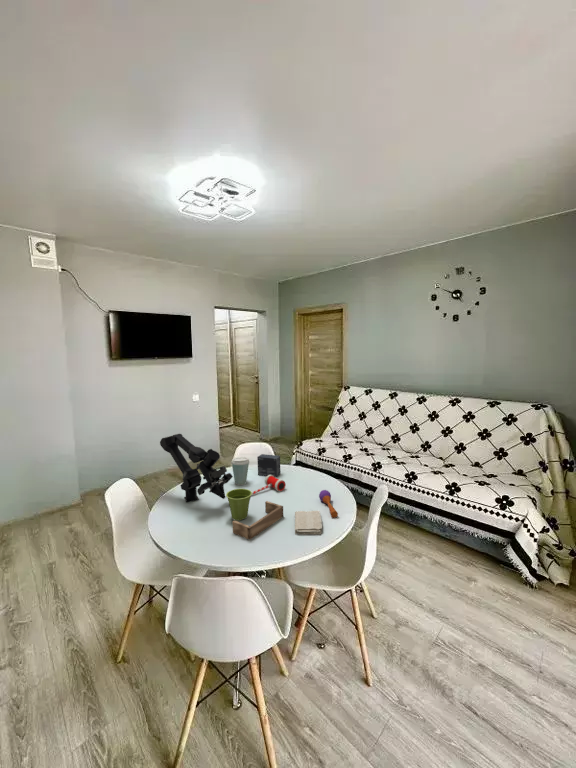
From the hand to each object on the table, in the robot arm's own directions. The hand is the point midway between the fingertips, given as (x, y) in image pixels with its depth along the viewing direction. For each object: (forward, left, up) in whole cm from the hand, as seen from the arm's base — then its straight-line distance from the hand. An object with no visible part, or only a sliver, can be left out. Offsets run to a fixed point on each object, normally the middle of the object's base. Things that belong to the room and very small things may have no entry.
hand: (224, 498), depth 155 cm
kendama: (+22, +45, -7) cm, 51 cm away
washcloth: (+30, +29, -7) cm, 42 cm away
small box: (-33, +39, -7) cm, 52 cm away
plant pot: (+9, +5, -7) cm, 12 cm away
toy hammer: (-12, +27, -7) cm, 31 cm away
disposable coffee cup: (-29, +19, -7) cm, 36 cm away
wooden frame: (+19, +10, -7) cm, 23 cm away
